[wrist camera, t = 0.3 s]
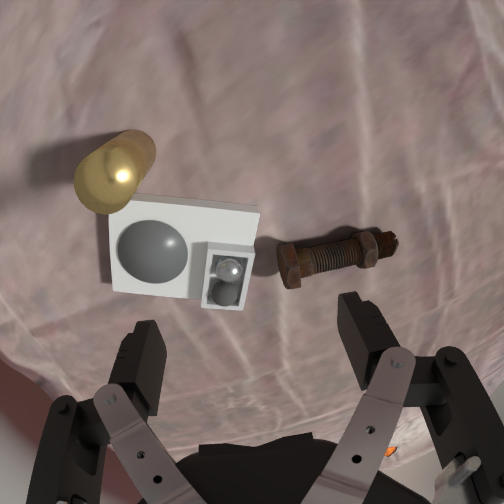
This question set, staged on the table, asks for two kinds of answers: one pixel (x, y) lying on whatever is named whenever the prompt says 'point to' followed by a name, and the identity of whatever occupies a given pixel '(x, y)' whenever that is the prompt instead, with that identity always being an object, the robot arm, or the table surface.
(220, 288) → the rubber ball
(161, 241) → the plate
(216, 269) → the steel ball
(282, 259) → the bolt
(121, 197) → the ball
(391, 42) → the table surface
